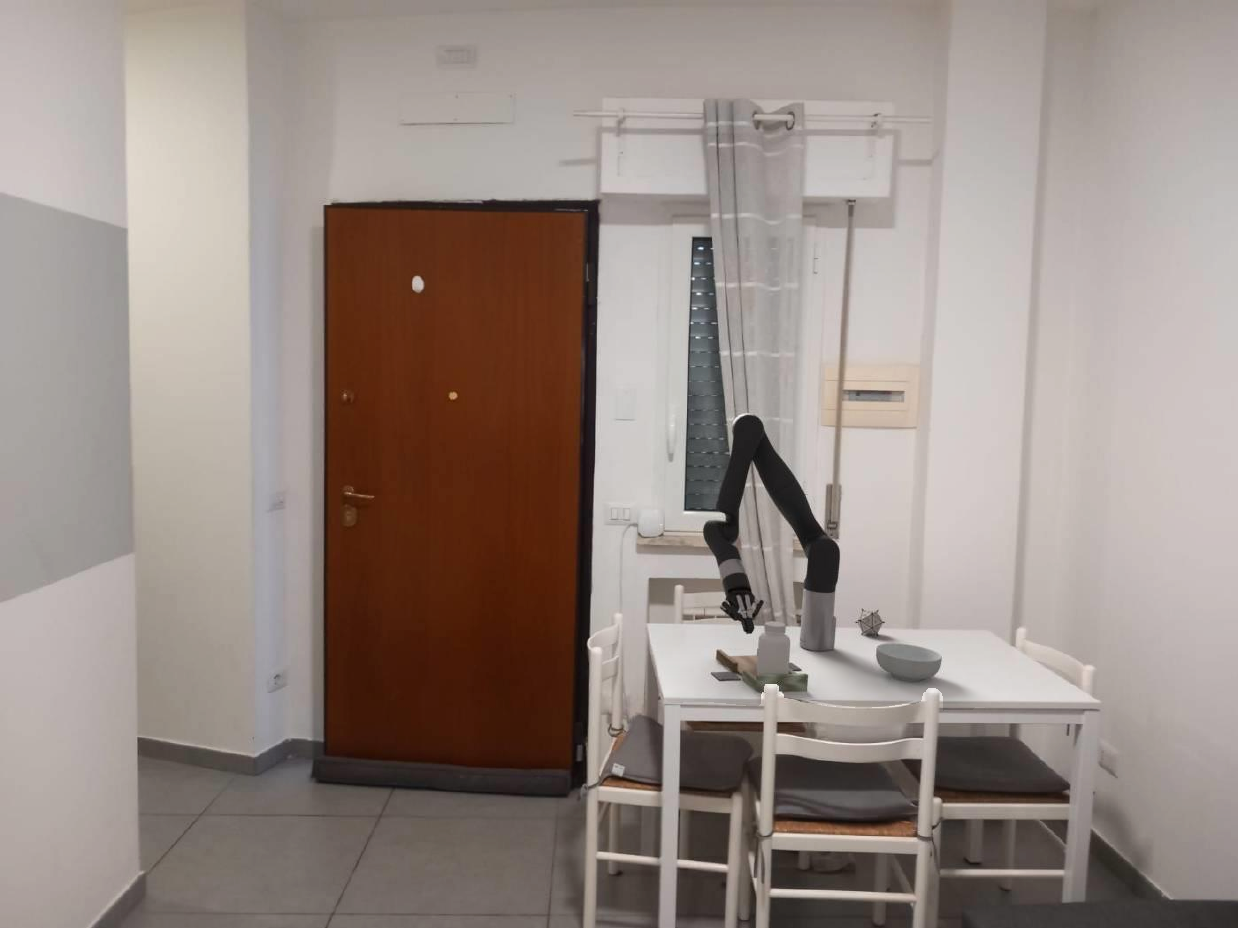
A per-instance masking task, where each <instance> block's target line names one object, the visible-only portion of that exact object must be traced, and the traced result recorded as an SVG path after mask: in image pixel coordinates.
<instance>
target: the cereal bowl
mask: <svg viewBox="0 0 1238 928" xmlns="http://www.w3.org/2000/svg"><path fill="white" fill-rule="evenodd" d="M875 657H876V658H875V659H876V662H877V663H878V665H879V667H880V668H881V669H882V670H884V671H885V672H886V673H888V674H889V675H891V677H892V678H894V679H897V680H901V681H905V682H920V681H923V680H925V679H930V678H931V677H934V676H935V675H936V674H937V673H938V672H940V670H941V667H942V666H941V665H942V659H943V658H942V655H941V654H940V653H939V652H936V651H934V650H933V649H930V648H926V647H923V646H918V645H914V644H913V645H912V644H907V643H898V642H897V643H895V642H893V643H892V642H889V643H881V644H879V645H877V646H876V652H875Z"/></svg>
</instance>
